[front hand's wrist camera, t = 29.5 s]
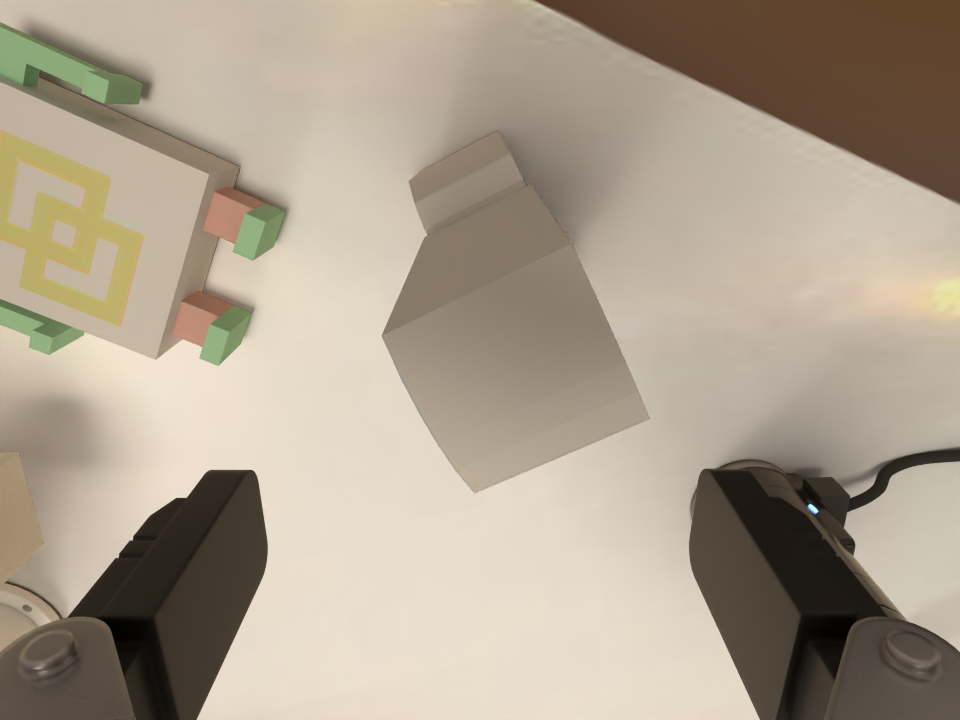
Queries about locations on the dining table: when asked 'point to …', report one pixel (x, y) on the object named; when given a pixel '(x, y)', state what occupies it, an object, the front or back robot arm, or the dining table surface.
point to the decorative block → (111, 215)
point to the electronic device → (503, 325)
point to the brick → (15, 517)
